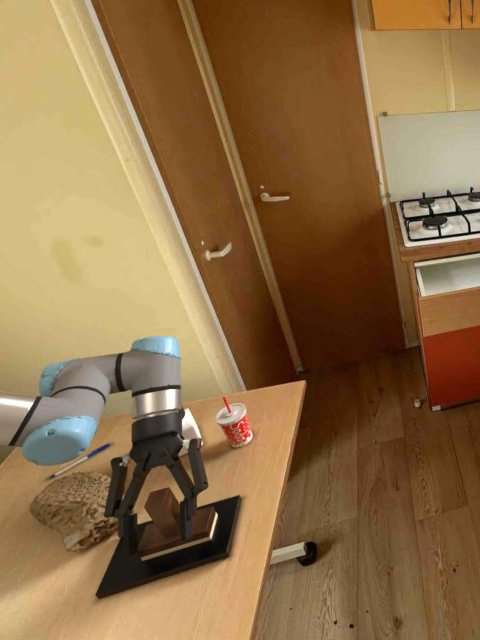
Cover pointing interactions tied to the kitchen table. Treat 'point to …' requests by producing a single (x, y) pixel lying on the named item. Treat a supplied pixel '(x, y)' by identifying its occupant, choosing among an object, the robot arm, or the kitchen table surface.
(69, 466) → the ballpoint pen
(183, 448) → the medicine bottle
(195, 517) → the brown block
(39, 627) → the kitchen table surface
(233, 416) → the beverage cup
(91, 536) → the sponge
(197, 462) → the robot arm
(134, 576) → the panel
